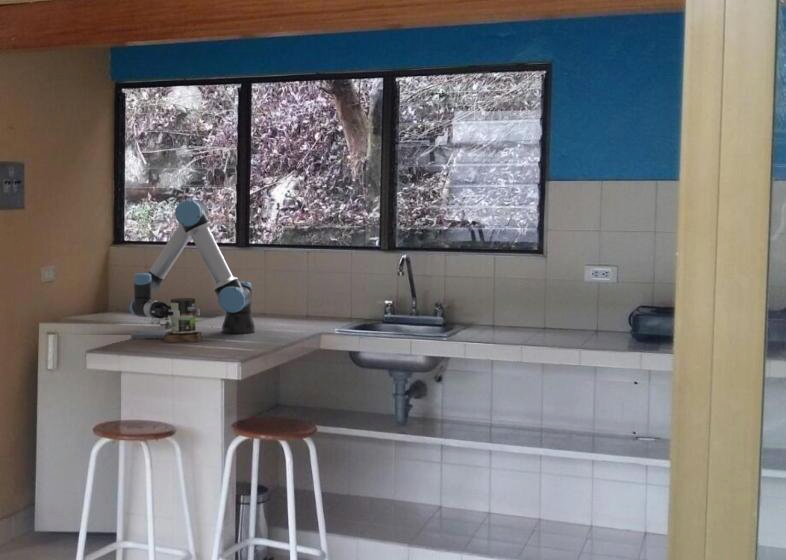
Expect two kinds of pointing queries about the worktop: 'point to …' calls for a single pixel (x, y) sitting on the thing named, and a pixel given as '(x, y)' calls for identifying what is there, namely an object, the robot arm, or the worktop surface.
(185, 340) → the walnut collar
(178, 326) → the coffee can
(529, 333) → the worktop surface
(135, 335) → the slate board
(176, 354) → the worktop surface
